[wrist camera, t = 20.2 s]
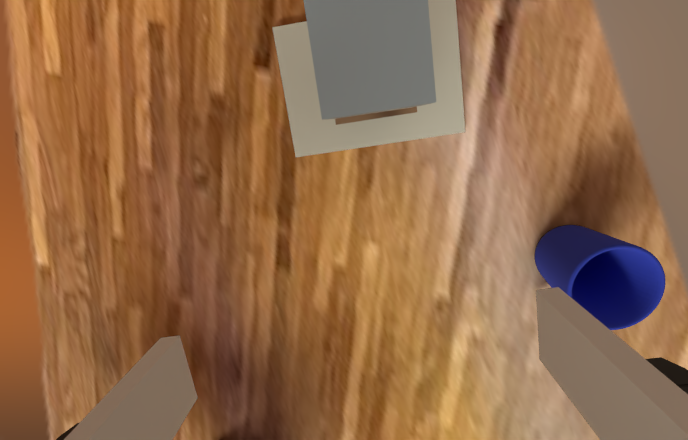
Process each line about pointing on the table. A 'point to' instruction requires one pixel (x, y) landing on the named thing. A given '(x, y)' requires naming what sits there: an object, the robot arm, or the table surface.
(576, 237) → the mug
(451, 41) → the plate
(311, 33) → the brick
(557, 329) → the robot arm
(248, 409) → the table surface
